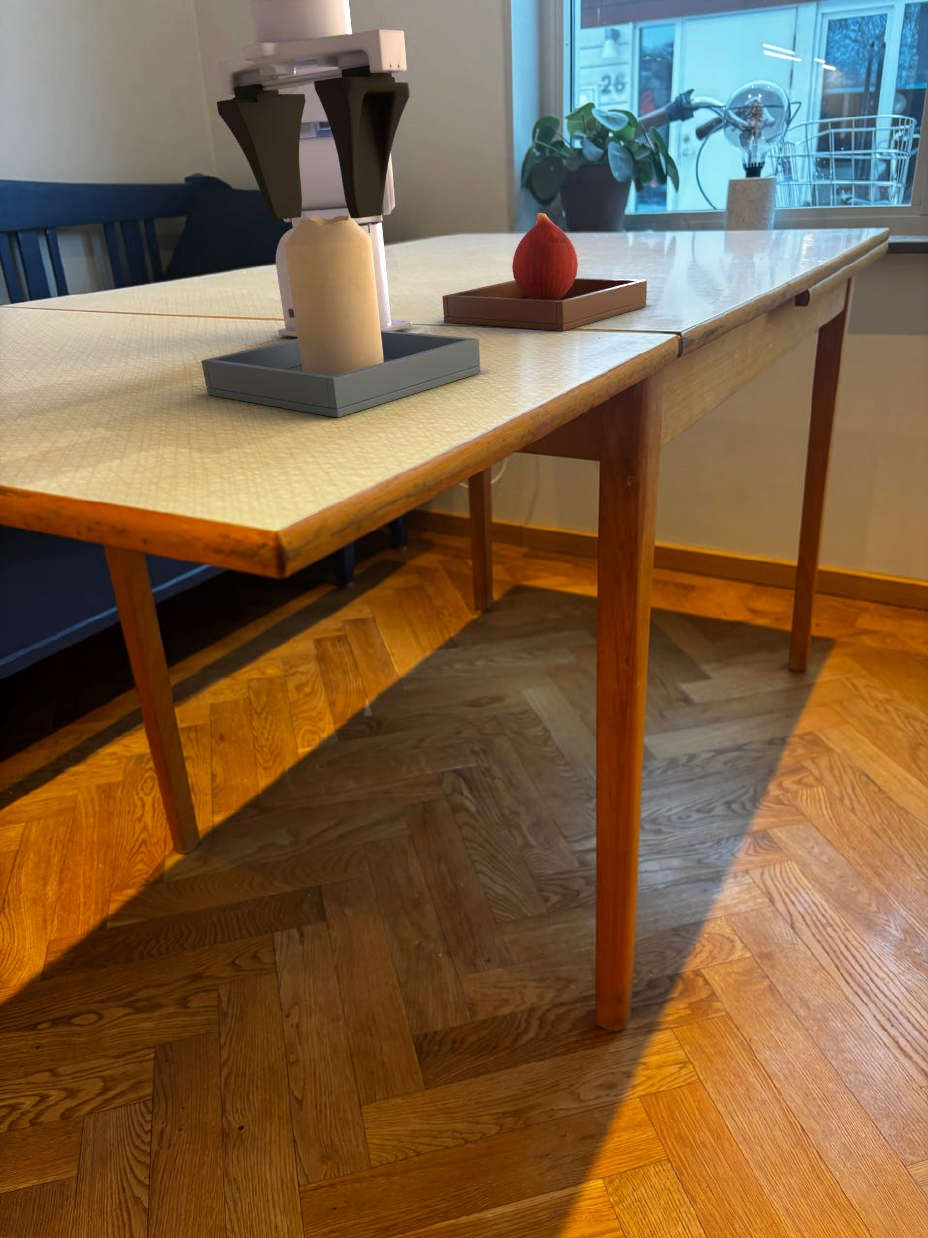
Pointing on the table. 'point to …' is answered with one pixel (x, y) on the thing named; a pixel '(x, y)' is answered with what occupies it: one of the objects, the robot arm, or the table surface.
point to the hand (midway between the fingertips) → (324, 217)
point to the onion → (545, 261)
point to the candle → (334, 295)
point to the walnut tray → (545, 304)
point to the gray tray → (284, 384)
